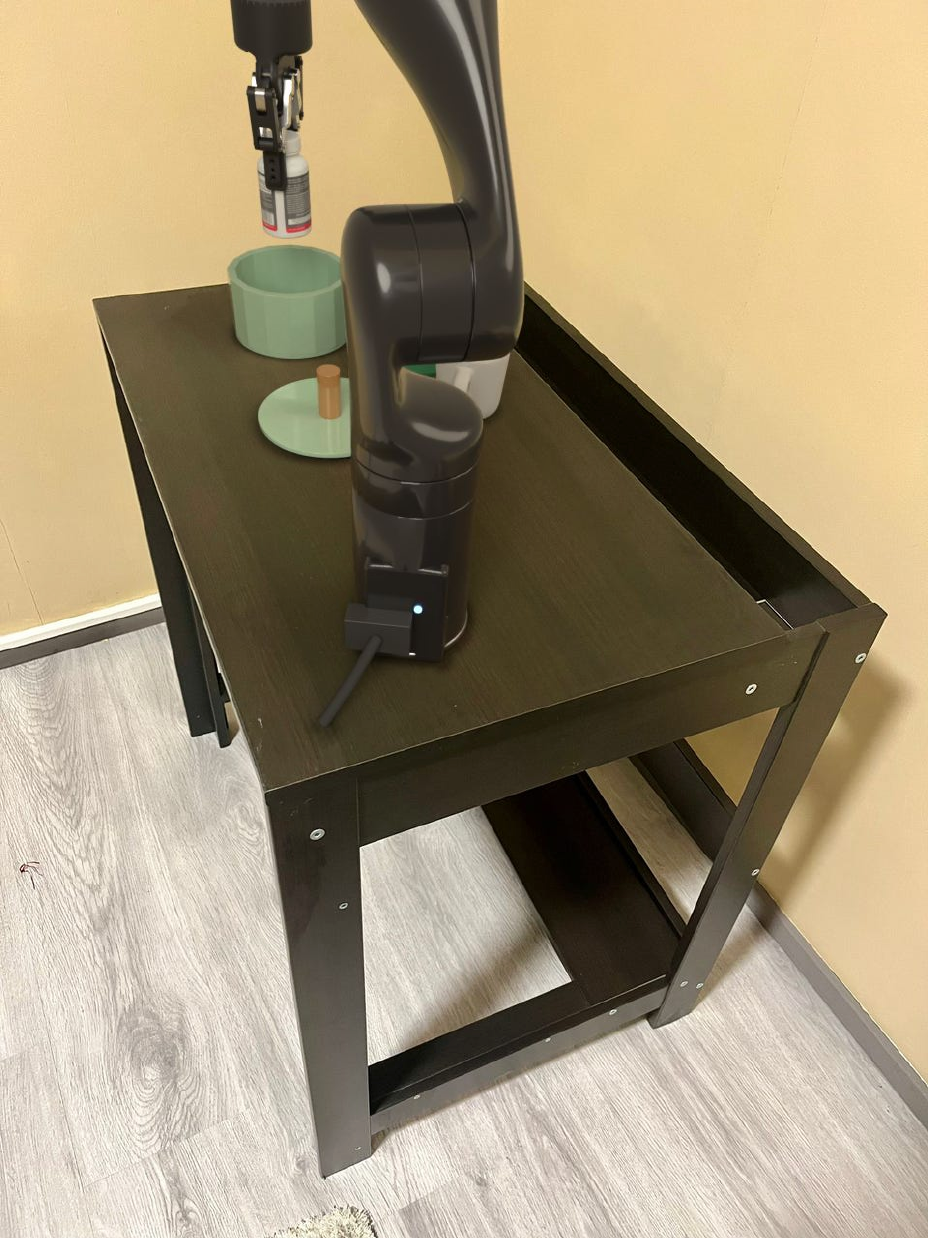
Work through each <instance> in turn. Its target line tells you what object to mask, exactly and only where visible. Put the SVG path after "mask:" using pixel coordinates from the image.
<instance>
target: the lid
mask: <svg viewBox="0 0 928 1238" xmlns="http://www.w3.org/2000/svg"><path fill="white" fill-rule="evenodd" d="M315 370H316V377H310V378H304V379H300V380H296V381H293V382H290V383H287V384H285V385H283V386H281V387H278V388H277V389H275V390H274V391H272V392H271V393H270V394H268V395H267V396H266V398H264V400H263V401H262V402H261V404H260V406H259V408H258V411H257V412H258V413H257V420H258V425H259V429H260V431H261V432H262V433H263V435H264V436H265V438H267V440H269V441H270V442H271V443H273V444H274V445H276V446H277V447H279V448H280V449H283V450H285V451H288V452H290V453H294V454H296V455H300V456H305V457H312V458H322V459H340V458H348V457H349V458H350V457H351V455H350V406H349V378H348V377H341V375H342V374H341V368H340V367H339V366H337V365H336V364H330V363H329V364H328V363H327V364H322V365H319V366H317V368H316V369H315Z"/></svg>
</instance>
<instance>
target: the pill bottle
mask: <svg viewBox="0 0 928 1238" xmlns="http://www.w3.org/2000/svg"><path fill="white" fill-rule="evenodd" d="M267 137H269V138H273V137H272V131H271V129H269V130H267ZM301 151H302V142H301V135H300V133H299V132H294V131H290V130H286V150H285V152H286V167H287V182H288V186H287V188H286V190H285V191H274V190H268V189H267V188H266V186H265V176H264V164H263V154H262V155H261V156H260V157H259V158H258V160H257V162H256V164H257V165H256V170H257V179H258V188H259V189H258V190H259V203H260V213H261V222H262V229H263V231H264V233H265V234H266V235H268V236H271V237H273V238H277V239H282V240H291V239H292V240H294V239H299V238H303V237H306V236H307V235H309V234H310V233H311V232H312V229H313V224H312V223H313V222H312V221H313V220H312V203H311V187H310V186H311V185H310V168H309V167H310V166H309V162H308V160H307V158H305V157H304V156H303V155H302V154H300V153H301Z"/></svg>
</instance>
